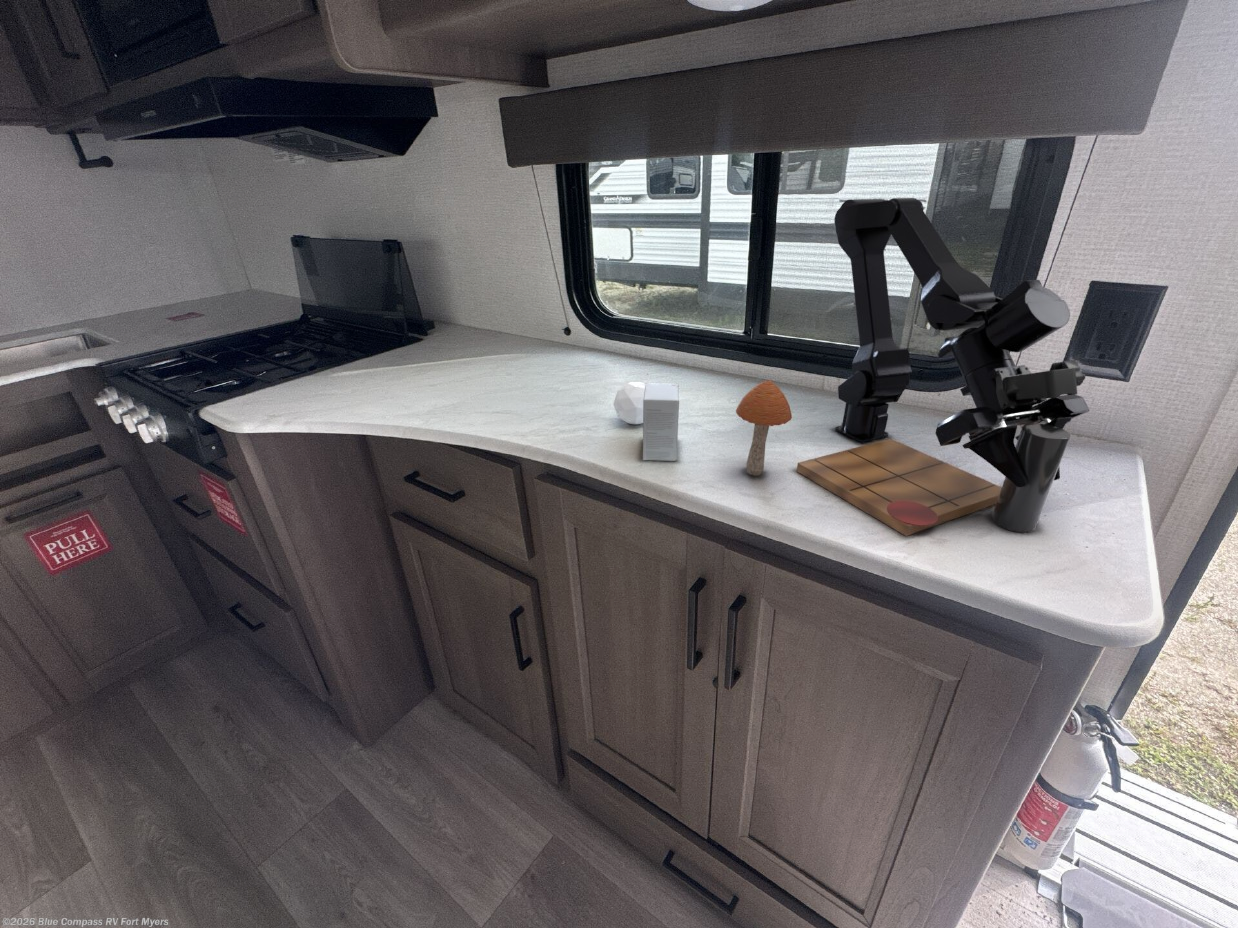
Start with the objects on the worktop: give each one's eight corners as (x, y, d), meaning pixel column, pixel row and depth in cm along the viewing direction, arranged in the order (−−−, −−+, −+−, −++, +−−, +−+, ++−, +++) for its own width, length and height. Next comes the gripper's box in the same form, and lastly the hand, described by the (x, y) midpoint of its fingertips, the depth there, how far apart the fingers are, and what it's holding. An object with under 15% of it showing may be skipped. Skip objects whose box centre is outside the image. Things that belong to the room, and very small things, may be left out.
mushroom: (785, 488, 82) (799, 390, 75) (730, 484, 83) (739, 387, 77) (781, 464, 89) (793, 372, 82) (730, 460, 90) (738, 370, 84)
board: (796, 471, 87) (797, 461, 86) (888, 446, 95) (890, 437, 94) (912, 540, 70) (915, 529, 69) (1014, 503, 78) (1017, 493, 77)
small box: (644, 440, 98) (645, 382, 93) (676, 441, 97) (679, 382, 93) (641, 460, 91) (642, 399, 86) (676, 461, 90) (679, 399, 86)
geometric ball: (629, 431, 108) (627, 391, 110) (665, 424, 104) (663, 383, 105) (605, 424, 102) (604, 381, 103) (643, 416, 98) (641, 372, 99)
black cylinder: (983, 518, 74) (1013, 427, 69) (1006, 509, 76) (1037, 420, 70) (1020, 536, 71) (1055, 441, 65) (1043, 527, 72) (1079, 434, 67)
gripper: (980, 344, 64) (1039, 473, 59) (1101, 331, 69) (1164, 450, 64) (913, 388, 74) (959, 501, 70) (1023, 374, 79) (1072, 479, 74)
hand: (1039, 483), depth 69 cm, fingers closed on black cylinder, 5 cm apart
